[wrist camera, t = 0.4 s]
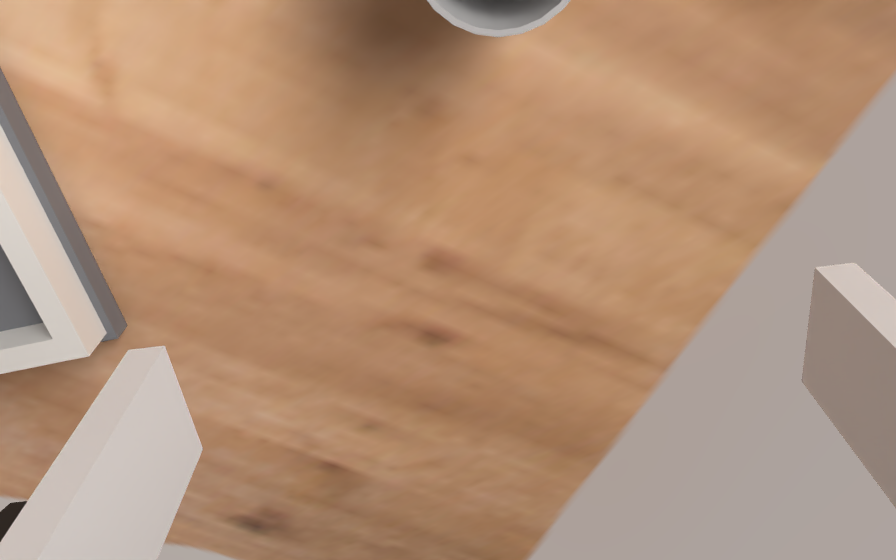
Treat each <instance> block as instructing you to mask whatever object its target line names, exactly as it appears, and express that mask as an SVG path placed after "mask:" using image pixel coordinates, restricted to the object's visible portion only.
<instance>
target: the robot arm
mask: <svg viewBox="0 0 896 560" xmlns="http://www.w3.org/2000/svg"><path fill="white" fill-rule="evenodd" d="M802 382H803V384H804V385H805V386H806V387H807V389H808V390H809V392H810V393H811V394H812V396H813V397H814V399H815V400H816V401H817V403H818V404H819V405H820V407H821V408H822V409H823V411H824V412H825V413H826V415H827V416H828V417H829V419H830V420H831V421H832V423H833V424H834V425H835V427H836V428H837V429H838V431H839V432H840V434H841V435H842V436H843V437H844V439H845V440H846V442H847V443H848V444H849V445H850V447H851V448H852V450H853V451H854V452H855V454H856V455H857V456H858V458H859V459H860V460H861V462H862V463H863V464H864V465H865V467H866V469H867V470H868V471H869V473H870V474H871V475H872V476H873V478H874V479H875V481H876V482H877V483H878V484H879V486H880V487H881V489H882V490H883V491H884V493H885V494H886V495H887V497H888V498H889V499H890V501H891V502H892V504H893V505H894V506H895V508H896V299H895V298H894V297H892V296H891V295H890V294H889V293H888V292H887V291H886V290H885V289H884V288H882V287H881V286H880V285H879V284H878V283H877V282H876V281H875V280H873V279H872V278H871V277H870V276H869V275H868V274H867V273H865V271H863V270H862V269H861V268H860V267H859V266H858V265H856V263H848V264H840V265H831V266H823V267H815V272H814V280H813V289H812V297H811V306H810V315H809V323H808V332H807V340H806V349H805V357H804V366H803V375H802ZM202 450H203V448H202V445H201V442H200V440H199V437H198V434H197V432H196V429H195V426H194V424H193V421H192V418H191V416H190V413H189V410H188V407H187V405H186V402H185V399H184V397H183V394H182V391H181V389H180V386H179V383H178V380H177V378H176V375H175V372H174V370H173V367H172V364H171V362H170V359H169V356H168V354H167V351H166V348H165V346H157V347H149V348H141V349H132V350H128V351H127V353H126V354H125V356H124V357H123V359H122V360H121V362H120V363H119V365H118V366H117V368H116V369H115V371H114V372H113V374H112V375H111V377H110V378H109V380H108V381H107V383H106V384H105V386H104V387H103V389H102V390H101V392H100V393H99V395H98V396H97V398H96V399H95V401H94V402H93V404H92V405H91V407H90V408H89V410H88V411H87V413H86V414H85V416H84V417H83V419H82V420H81V422H80V423H79V425H78V426H77V428H76V429H75V431H74V432H73V434H72V435H71V437H70V438H69V440H68V441H67V443H66V444H65V446H64V447H63V449H62V450H61V452H60V453H59V455H58V456H57V458H56V459H55V461H54V462H53V464H52V465H51V467H50V468H49V470H48V471H47V473H46V474H45V476H44V477H43V479H42V480H41V482H40V483H39V485H38V486H37V488H36V489H35V491H34V492H33V494H32V495H31V497H30V498H29V500H28V501H24V502H15V503H10V504H9V505H8V506H7V507H5V508H4V509H3V510H2V511H1V512H0V560H157V558H158V556H159V553H160V551H161V548H162V546H163V544H164V541H165V539H166V537H167V534H168V532H169V529H170V527H171V524H172V522H173V520H174V517H175V515H176V512H177V510H178V508H179V505H180V503H181V500H182V498H183V496H184V493H185V491H186V488H187V486H188V484H189V481H190V479H191V476H192V474H193V472H194V469H195V467H196V464H197V462H198V460H199V457H200V455H201V452H202Z"/></svg>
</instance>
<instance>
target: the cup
mask: <svg viewBox="0 0 896 560" xmlns="http://www.w3.org/2000/svg"><path fill="white" fill-rule="evenodd" d="M427 1H428V2H429V4H430V5H431V6H432V8H433V9H434V10H435V11H436V12H438V13H439V14H440V15H441V16H443V17H444V18H445V19H446V20H448V21H449V22H450V23H451V24H453V25H454V26H457V27H459V28H462V29H464V30H466V31H469V32H471V33H473V34H478V35H485V36H493V37H503V36H510V35H516V34H522V33H525V32H527V31H529V30H532V29H534V28H536V27H538V26H541V25H543V24H545V23H546V22H547V21H549V20H550V19H551V18H552V17H554V16H555V15H556V14H558V13H559V12H560V11H561V10H563V9H564V8H565V6H566V5H567V4H568V3H569V1H570V0H427Z"/></svg>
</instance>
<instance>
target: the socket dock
mask: <svg viewBox="0 0 896 560" xmlns="http://www.w3.org/2000/svg"><path fill="white" fill-rule="evenodd" d="M126 327H127V324H126V322H125V320H124V318H123V316H122V313H121V311H120V309H119V307H118V305H117V303H116V301H115V299H114V297H113V295H112V293H111V291H110V289H109V287H108V285H107V283H106V281H105V279H104V277H103V275H102V273H101V271H100V269H99V267H98V265H97V263H96V261H95V259H94V257H93V255H92V253H91V251H90V249H89V247H88V245H87V243H86V240H85V238H84V236H83V234H82V232H81V230H80V228H79V226H78V224H77V222H76V220H75V218H74V216H73V214H72V212H71V210H70V208H69V206H68V204H67V202H66V200H65V198H64V196H63V194H62V192H61V190H60V188H59V186H58V184H57V182H56V180H55V178H54V176H53V174H52V172H51V169H50V167H49V165H48V163H47V161H46V159H45V157H44V155H43V153H42V151H41V149H40V147H39V145H38V143H37V141H36V139H35V137H34V135H33V133H32V131H31V129H30V127H29V125H28V123H27V121H26V119H25V117H24V115H23V113H22V111H21V109H20V107H19V105H18V103H17V101H16V98H15V96H14V94H13V92H12V90H11V88H10V86H9V84H8V82H7V80H6V78H5V76H4V74H3V72H2V70H1V68H0V374H3V373H8V372H13V371H18V370H23V369H28V368H33V367H38V366H43V365H48V364H53V363H58V362H63V361H68V360H73V359H78V358H83V357H88V356H90V355H91V353H92V352H93V351H94V349H95V348H96V347H97V346H98V344H99V343H100V342H103V341H108V340H113V339H118V338H119V336H120V335H121V334H122V332H123V331H124V330H125V328H126Z"/></svg>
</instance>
